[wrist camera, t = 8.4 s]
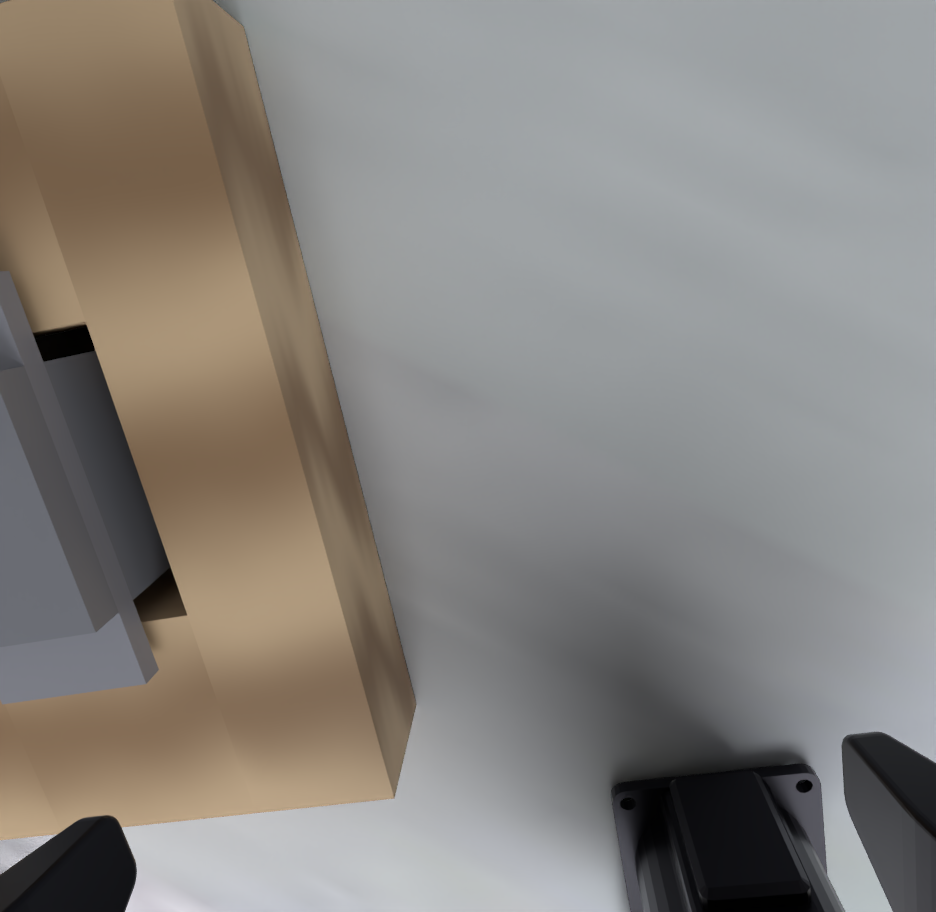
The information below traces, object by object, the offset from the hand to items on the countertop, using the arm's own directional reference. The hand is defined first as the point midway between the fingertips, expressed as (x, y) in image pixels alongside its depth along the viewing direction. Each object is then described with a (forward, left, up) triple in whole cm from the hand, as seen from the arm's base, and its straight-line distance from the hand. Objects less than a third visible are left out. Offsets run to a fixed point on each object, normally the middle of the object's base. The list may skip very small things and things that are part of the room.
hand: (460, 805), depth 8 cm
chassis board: (+3, +11, -12) cm, 17 cm away
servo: (+3, +11, -12) cm, 17 cm away
